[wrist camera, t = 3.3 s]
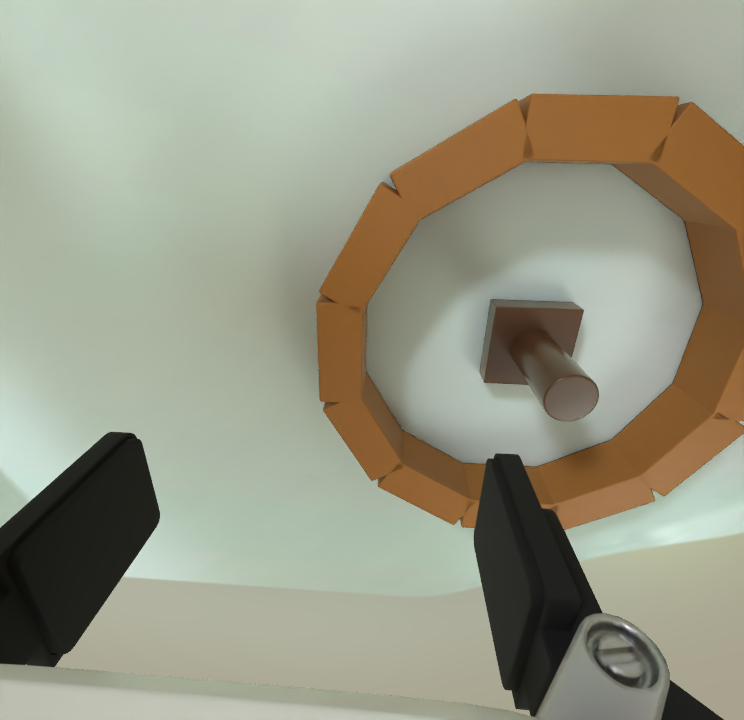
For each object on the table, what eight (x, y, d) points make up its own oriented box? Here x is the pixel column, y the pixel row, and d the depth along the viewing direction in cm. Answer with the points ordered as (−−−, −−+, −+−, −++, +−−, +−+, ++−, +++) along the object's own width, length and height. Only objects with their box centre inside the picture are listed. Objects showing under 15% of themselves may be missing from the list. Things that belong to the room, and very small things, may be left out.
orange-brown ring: (322, 102, 17) (308, 89, 14) (829, 112, 16) (918, 100, 13) (331, 482, 25) (323, 520, 22) (662, 499, 24) (695, 540, 22)
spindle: (490, 298, 20) (526, 348, 14) (574, 301, 20) (643, 352, 14) (479, 372, 21) (508, 441, 16) (556, 375, 21) (611, 446, 16)
